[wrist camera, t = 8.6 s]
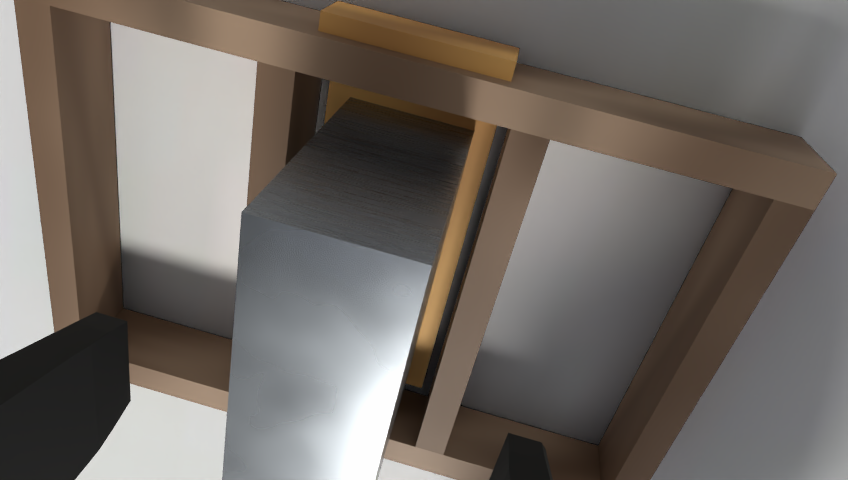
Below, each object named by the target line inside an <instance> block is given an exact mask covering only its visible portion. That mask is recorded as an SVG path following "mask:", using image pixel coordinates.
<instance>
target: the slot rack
mask: <svg viewBox="0 0 848 480" xmlns="http://www.w3.org/2000/svg"><path fill="white" fill-rule="evenodd" d="M14 5H15V13H16V21H17V29H18V37H19V46H20V54H21V62H22V70H23V78H24V87H25V95H26V103H27V111H28V119H29V127H30V136H31V144H32V152H33V160H34V168H35V177H36V185H37V193H38V201H39V209H40V218H41V226H42V234H43V242H44V250H45V259H46V267H47V275H48V283H49V291H50V300H51V308H52V316H53V324H54V332H57V331H59V330H61V329H63V328H65V327H67V326H69V325H71V324H73V323H75V322H77V321H79V320H81V319H83V318H85V317H87V316H89V315H91V314H93V313H96V312H98V313H101V314H105V315H108V316H111V317H115V318H118V319H122V320H125V321H127V325H128V350H129V375H130V383H131V384H134V385H137V386H141V387H144V388H148V389H151V390H154V391H158V392H161V393H165V394H168V395H171V396H175V397H178V398H181V399H185V400H188V401H192V402H195V403H198V404H202V405H205V406H209V407H212V408H215V409H219V410H222V411H226V412H227V408H228V394H229V381H230V367H231V353H232V340H231V339H227V338H224V337H220V336H217V335H214V334H210V333H207V332H203V331H200V330H196V329H193V328H189V327H186V326H182V325H179V324H176V323H172V322H169V321H165V320H162V319H158V318H155V317H151V316H148V315H144V314H141V313H138V312H134V311H131V310H127V309H124V308H123V292H122V271H121V250H120V229H119V208H118V187H117V166H116V144H115V123H114V102H113V81H112V60H111V39H110V22H113V23H116V24H120V25H124V26H128V27H131V28H135V29H139V30H142V31H146V32H150V33H154V34H157V35H161V36H165V37H169V38H172V39H176V40H180V41H184V42H187V43H191V44H195V45H198V46H202V47H206V48H210V49H213V50H217V51H221V52H225V53H228V54H232V55H236V56H240V57H243V58H247V59H251V60H255V61H258V62H257V75H256V89H255V102H254V116H253V129H252V143H251V156H250V170H249V184H248V197H247V206H248V205H249V204H250V203H251V202H252V201H253V200H254V199H255V197H256V196H257V195H258V194H259V193H260V192H261V191H262V190H263V189H264V188H265V187H266V186H267V185H268V184H269V183H270V182H271V181H272V179H273V178H274V177H275V176H276V175H277V174H278V173H279V172H280V171H281V170H282V169H283V168H284V167H285V166H286V165H287V164H288V163H289V161H290V160H291V159H292V158H293V157H294V156H295V155H296V154H297V153H298V152H299V151H300V150H301V149H302V148H303V147H304V146H305V145H306V143H307V142H308V141H309V140H310V139H311V138H312V137H313V136H314V135H315V128H316V120H317V112H318V105H319V97H320V89H321V81H322V79H326V80H329V81H330V83H329V91H328V98H327V105H326V113H325V120H324V124H325V123H326V122H327V121H328V120H329V119H330V118H331V117H332V116H333V115H334V114H335V113H336V112H337V111H338V110H339V108H340V107H341V106H342V105H343V104H344V103H345V102H346V101H347V100H348V99H349V98H350V97H352V98H356V99H359V100H363V101H367V102H370V103H374V104H378V105H381V106H385V107H389V108H392V109H396V110H400V111H404V112H407V113H411V114H415V115H418V116H422V117H426V118H429V119H433V120H437V121H440V122H444V123H448V124H451V125H455V126H459V127H462V128H466V129H470V130H474V135H473V138H472V142H471V146H470V149H469V153H468V157H467V160H466V164H465V168H464V171H463V175H462V179H461V182H460V186H459V190H458V194H457V197H456V201H455V205H454V208H453V212H452V216H451V219H450V223H449V227H448V230H447V234H446V238H445V241H444V245H443V249H442V252H441V256H440V260H439V263H438V267H437V271H436V274H435V278H434V282H433V285H432V289H431V293H430V296H429V300H428V304H427V307H426V311H425V315H424V318H423V322H422V326H421V329H420V333H419V337H418V340H417V344H416V348H415V351H414V355H413V359H412V362H411V366H410V370H409V373H408V377H407V381H406V384H409V385H413V386H416V387H420V388H422V385H423V381H424V378H425V374H426V371H427V368H428V364H429V361H430V357H431V354H432V350H433V347H434V343H435V340H436V336H437V333H438V329H439V326H440V322H441V319H442V315H443V312H444V308H445V305H446V301H447V298H448V295H449V291H450V288H451V284H452V281H453V277H454V274H455V270H456V267H457V263H458V260H459V256H460V253H461V249H462V246H463V242H464V239H465V235H466V232H467V229H468V225H469V222H470V218H471V215H472V211H473V208H474V204H475V201H476V197H477V194H478V190H479V187H480V183H481V180H482V176H483V173H484V169H485V166H486V163H487V159H488V156H489V152H490V149H491V145H492V142H493V138H494V135H495V131H496V128H497V126H501V127H505V128H507V131H506V135H505V138H504V142H503V145H502V148H501V152H500V155H499V158H498V162H497V165H496V168H495V172H494V175H493V178H492V182H491V185H490V189H489V192H488V195H487V199H486V202H485V205H484V209H483V212H482V215H481V219H480V222H479V226H478V229H477V232H476V236H475V239H474V242H473V246H472V249H471V252H470V256H469V259H468V263H467V266H466V269H465V273H464V276H463V279H462V283H461V286H460V289H459V293H458V296H457V299H456V303H455V306H454V310H453V313H452V316H451V320H450V323H449V326H448V330H447V333H446V336H445V340H444V343H443V347H442V350H441V353H440V357H439V360H438V363H437V367H436V370H435V373H434V377H433V380H432V384H431V387H430V390H429V394H428V396H424V395H421V394H418V393H414V392H411V391H407V390H404V391H403V394H402V398H401V401H400V404H399V408H398V411H397V415H396V418H395V421H394V425H393V428H392V432H391V435H390V438H389V442H388V445H387V449H386V452H385V455H384V458H385V459H388V460H392V461H395V462H399V463H402V464H405V465H409V466H412V467H416V468H419V469H422V470H426V471H429V472H432V473H436V474H439V475H443V476H446V477H449V478H453V479H456V480H489V479H490V476H491V474H492V471H493V469H494V467H495V464H496V462H497V459H498V457H499V454H500V452H501V449H502V447H503V444H504V442H505V439H506V437H507V435H508V433H511V434H515V435H518V436H522V437H525V438H528V439H532V440H535V441H539V442H542V444H543V445H544V447H545V449H546V453H547V458H548V462H549V466H550V470H551V474H552V478H553V480H650V479H651V478H652V476H653V474H654V473H655V471H656V469H657V468H658V466H659V464H660V463H661V461H662V460H663V458H664V456H665V455H666V453H667V451H668V450H669V448H670V446H671V445H672V443H673V442H674V440H675V438H676V437H677V435H678V433H679V432H680V430H681V429H682V427H683V425H684V424H685V422H686V420H687V419H688V417H689V415H690V414H691V412H692V411H693V409H694V407H695V406H696V404H697V402H698V401H699V399H700V397H701V396H702V394H703V393H704V391H705V389H706V388H707V386H708V384H709V383H710V381H711V379H712V378H713V376H714V375H715V373H716V371H717V370H718V368H719V366H720V365H721V363H722V361H723V360H724V358H725V357H726V355H727V353H728V352H729V350H730V348H731V347H732V345H733V343H734V342H735V340H736V339H737V337H738V335H739V334H740V332H741V330H742V329H743V327H744V325H745V324H746V322H747V321H748V319H749V317H750V316H751V314H752V312H753V311H754V309H755V308H756V306H757V304H758V303H759V301H760V299H761V298H762V296H763V294H764V293H765V291H766V290H767V288H768V286H769V285H770V283H771V281H772V280H773V278H774V276H775V275H776V273H777V272H778V270H779V268H780V267H781V265H782V263H783V262H784V260H785V258H786V257H787V255H788V254H789V252H790V250H791V249H792V247H793V245H794V244H795V242H796V240H797V239H798V237H799V236H800V234H801V232H802V231H803V229H804V227H805V226H806V224H807V222H808V221H809V219H810V218H811V216H812V214H813V213H814V211H815V209H816V208H817V206H818V205H819V203H820V201H821V200H822V198H823V196H824V195H825V193H826V191H827V190H828V188H829V187H830V185H831V183H832V182H833V180H834V178H835V177H836V175H837V173H836V172H835V171H834V170H833V169H832V168H831V167H830V166H829V165H828V164H827V163H826V162H825V161H824V160H823V159H822V158H821V157H820V156H819V155H818V154H817V153H816V152H815V151H814V150H813V149H812V148H811V147H810V146H809V145H808V144H807V143H806V142H805V140H804V139H803V138H802V137H798V136H795V135H791V134H787V133H783V132H779V131H776V130H772V129H768V128H764V127H760V126H757V125H753V124H749V123H745V122H741V121H738V120H734V119H730V118H726V117H722V116H718V115H715V114H711V113H707V112H703V111H699V110H696V109H692V108H688V107H684V106H680V105H677V104H673V103H669V102H665V101H661V100H658V99H654V98H650V97H646V96H642V95H639V94H635V93H631V92H627V91H623V90H620V89H616V88H612V87H608V86H604V85H600V84H597V83H593V82H589V81H585V80H581V79H578V78H574V77H570V76H566V75H562V74H559V73H555V72H551V71H547V70H543V69H540V68H536V67H532V66H528V65H524V64H521V63H517V58H518V54H519V49H520V48H517V47H513V46H509V45H505V44H502V43H498V42H494V41H490V40H486V39H482V38H479V37H475V36H471V35H467V34H463V33H460V32H456V31H452V30H448V29H444V28H440V27H437V26H433V25H429V24H425V23H421V22H417V21H414V20H410V19H406V18H402V17H398V16H395V15H391V14H387V13H383V12H379V11H375V10H372V9H368V8H364V7H360V6H356V5H353V4H349V3H345V2H341V1H337V2H335V3H333V4H331V5H330V6H328V7H326V8H324V9H322V10H321V11H319V10H315V9H311V8H307V7H304V6H300V5H296V4H292V3H288V2H284V1H281V0H14ZM550 140H553V141H557V142H561V143H565V144H568V145H572V146H576V147H580V148H583V149H587V150H591V151H594V152H598V153H602V154H606V155H609V156H613V157H617V158H621V159H624V160H628V161H632V162H636V163H639V164H643V165H647V166H650V167H654V168H658V169H662V170H665V171H669V172H673V173H677V174H680V175H684V176H688V177H692V178H695V179H699V180H703V181H707V182H710V183H714V184H718V185H721V186H725V187H729V188H733V189H732V191H731V193H730V195H729V197H728V199H727V201H726V202H725V204H724V206H723V208H722V210H721V212H720V214H719V216H718V218H717V220H716V222H715V224H714V225H713V227H712V229H711V231H710V233H709V235H708V237H707V239H706V241H705V243H704V245H703V246H702V248H701V250H700V252H699V254H698V256H697V258H696V260H695V262H694V264H693V266H692V267H691V269H690V271H689V273H688V275H687V277H686V279H685V281H684V283H683V285H682V287H681V289H680V290H679V292H678V294H677V296H676V298H675V300H674V302H673V304H672V306H671V308H670V310H669V311H668V313H667V315H666V317H665V319H664V321H663V323H662V325H661V327H660V329H659V331H658V332H657V334H656V336H655V338H654V340H653V342H652V344H651V346H650V348H649V350H648V352H647V354H646V355H645V357H644V359H643V361H642V363H641V365H640V367H639V369H638V371H637V373H636V375H635V376H634V378H633V380H632V382H631V384H630V386H629V388H628V390H627V392H626V394H625V396H624V397H623V399H622V401H621V403H620V405H619V407H618V409H617V411H616V413H615V415H614V417H613V419H612V420H611V422H610V424H609V426H608V428H607V430H606V432H605V434H604V436H603V438H602V440H601V441H600V443H599V445H598V446H597V445H594V444H590V443H587V442H583V441H580V440H577V439H573V438H570V437H566V436H563V435H559V434H556V433H552V432H549V431H545V430H542V429H539V428H535V427H532V426H528V425H525V424H521V423H518V422H514V421H511V420H507V419H504V418H500V417H497V416H494V415H490V414H487V413H483V412H480V411H476V410H473V409H469V408H466V407H462V406H460V404H461V401H462V398H463V395H464V392H465V389H466V386H467V384H468V381H469V378H470V375H471V372H472V369H473V366H474V363H475V360H476V357H477V354H478V351H479V348H480V345H481V342H482V339H483V336H484V333H485V330H486V327H487V324H488V321H489V318H490V316H491V313H492V310H493V307H494V304H495V301H496V298H497V295H498V292H499V289H500V286H501V283H502V280H503V277H504V274H505V271H506V268H507V265H508V262H509V259H510V256H511V253H512V251H513V248H514V245H515V242H516V239H517V236H518V233H519V230H520V227H521V224H522V221H523V218H524V215H525V212H526V209H527V206H528V203H529V200H530V197H531V194H532V191H533V188H534V185H535V183H536V180H537V177H538V174H539V171H540V168H541V165H542V162H543V159H544V156H545V153H546V150H547V147H548V144H549V141H550Z"/></svg>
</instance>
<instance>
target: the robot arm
mask: <svg viewBox="0 0 848 480" xmlns="http://www.w3.org/2000/svg"><path fill="white" fill-rule="evenodd" d="M130 401H131V400H130V375H129V350H128V325H127V321H125V320H122V319H118V318H115V317H111V316H108V315H105V314H101V313H98V312H96V313H93V314H91V315H89V316H87V317H85V318H83V319H81V320H79V321H77V322H75V323H73V324H71V325H69V326H67V327H65V328H63V329H61V330H59V331H57V332H55V333H53V334H51V335H49V336H47V337H45V338H43V339H41V340H39V341H37V342H35V343H33V344H31V345H29V346H27V347H25V348H23V349H21V350H19V351H17V352H15V353H13V354H11V355H9V356H7V357H4V358H2V359H0V480H75V479H76V478H77V476H78V475H79V474H80V473H81V471H82V470H83V469H84V468H85V467H86V465H87V464H88V463H89V462H90V460H91V459H92V458H93V457H94V455H95V454H96V453H97V452H98V450H99V449H100V448H101V446H102V445H103V443H104V442H105V440H106V439H107V437H108V435H109V434H110V432H111V431H112V429H113V428H114V426H115V425H116V423H117V422H118V420H119V418H120V417H121V415H122V413H123V412H124V410H125V409H126V407H127V405H128V404H129V402H130ZM489 480H553V478H552V474H551V470H550V466H549V462H548V458H547V453H546V449H545V447H544V445H543V444H542V442H539V441H535V440H532V439H528V438H525V437H522V436H518V435H515V434H511V433H508V435H507V437H506V439H505V442H504V444H503V447H502V449H501V452H500V454H499V457H498V459H497V462H496V464H495V467H494V469H493V471H492V474H491V476H490V479H489Z"/></svg>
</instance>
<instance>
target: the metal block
mask: <svg viewBox="0 0 848 480" xmlns="http://www.w3.org/2000/svg"><path fill="white" fill-rule="evenodd" d="M473 135H474V130H470V129H466V128H462V127H459V126H455V125H451V124H448V123H444V122H440V121H437V120H433V119H429V118H426V117H422V116H418V115H415V114H411V113H407V112H404V111H400V110H396V109H392V108H389V107H385V106H381V105H378V104H374V103H370V102H367V101H363V100H359V99H356V98H352V97H350V98H349V99H348V100H347V101H346V102H345V103H344V104H343V105H342V106H341V107H340V108H339V110H338V111H337V112H336V113H335V114H334V115H333V116H332V117H331V118H330V119H329V120H328V121H327V122H326V123H325V124H324V125H323V127H322V128H321V129H320V130H319V131H318V132H317V133H316V134H315V135H314V136H313V137H312V138H311V139H310V140H309V141H308V142H307V143H306V145H305V146H304V147H303V148H302V149H301V150H300V151H299V152H298V153H297V154H296V155H295V156H294V157H293V158H292V159H291V160H290V161H289V163H288V164H287V165H286V166H285V167H284V168H283V169H282V170H281V171H280V172H279V173H278V174H277V175H276V176H275V177H274V178H273V179H272V181H271V182H270V183H269V184H268V185H267V186H266V187H265V188H264V189H263V190H262V191H261V192H260V193H259V194H258V195H257V196H256V197H255V199H254V200H253V201H252V202H251V203H250V204H249V205H248V206H247V207H246V208H245V209H244V210H243V211H242V215H241V229H240V242H239V256H238V270H237V284H236V298H235V311H234V325H233V339H232V353H231V367H230V381H229V394H228V408H227V422H226V436H225V450H224V463H223V477H222V480H377V479H378V476H379V472H380V469H381V466H382V462H383V459H384V455H385V452H386V449H387V445H388V442H389V438H390V435H391V432H392V428H393V425H394V421H395V418H396V415H397V411H398V408H399V404H400V401H401V398H402V394H403V391H404V387H405V384H406V381H407V377H408V373H409V370H410V366H411V362H412V359H413V355H414V351H415V348H416V344H417V340H418V337H419V333H420V329H421V326H422V322H423V318H424V315H425V311H426V307H427V304H428V300H429V296H430V293H431V289H432V285H433V282H434V278H435V274H436V271H437V267H438V263H439V260H440V256H441V252H442V249H443V245H444V241H445V238H446V234H447V230H448V227H449V223H450V219H451V216H452V212H453V208H454V205H455V201H456V197H457V194H458V190H459V186H460V182H461V179H462V175H463V171H464V168H465V164H466V160H467V157H468V153H469V149H470V146H471V142H472V138H473Z"/></svg>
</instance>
